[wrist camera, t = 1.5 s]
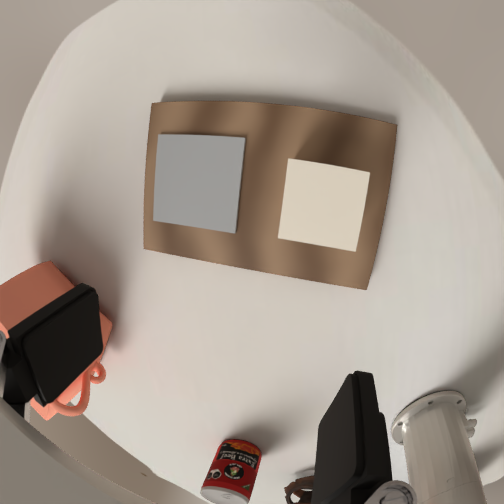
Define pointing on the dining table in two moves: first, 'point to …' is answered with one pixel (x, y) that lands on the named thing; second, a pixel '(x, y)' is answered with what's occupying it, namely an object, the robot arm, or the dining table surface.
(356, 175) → the cream cube
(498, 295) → the dining table surface
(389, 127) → the base board
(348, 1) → the dining table surface
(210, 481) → the canned food
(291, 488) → the pottery mug
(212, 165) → the pad
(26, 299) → the teapot
